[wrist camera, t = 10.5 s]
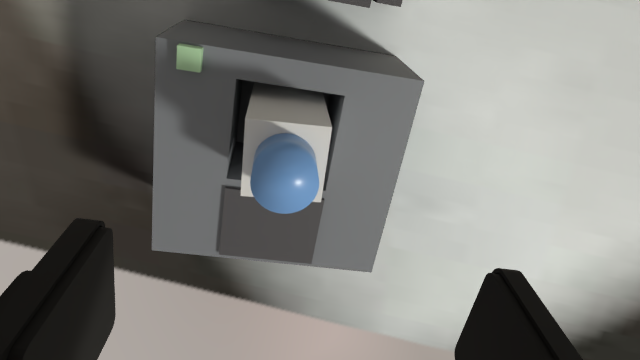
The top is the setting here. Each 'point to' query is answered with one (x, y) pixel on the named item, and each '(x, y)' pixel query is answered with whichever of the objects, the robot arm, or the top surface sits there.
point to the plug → (285, 147)
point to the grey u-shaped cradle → (365, 1)
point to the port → (228, 140)
